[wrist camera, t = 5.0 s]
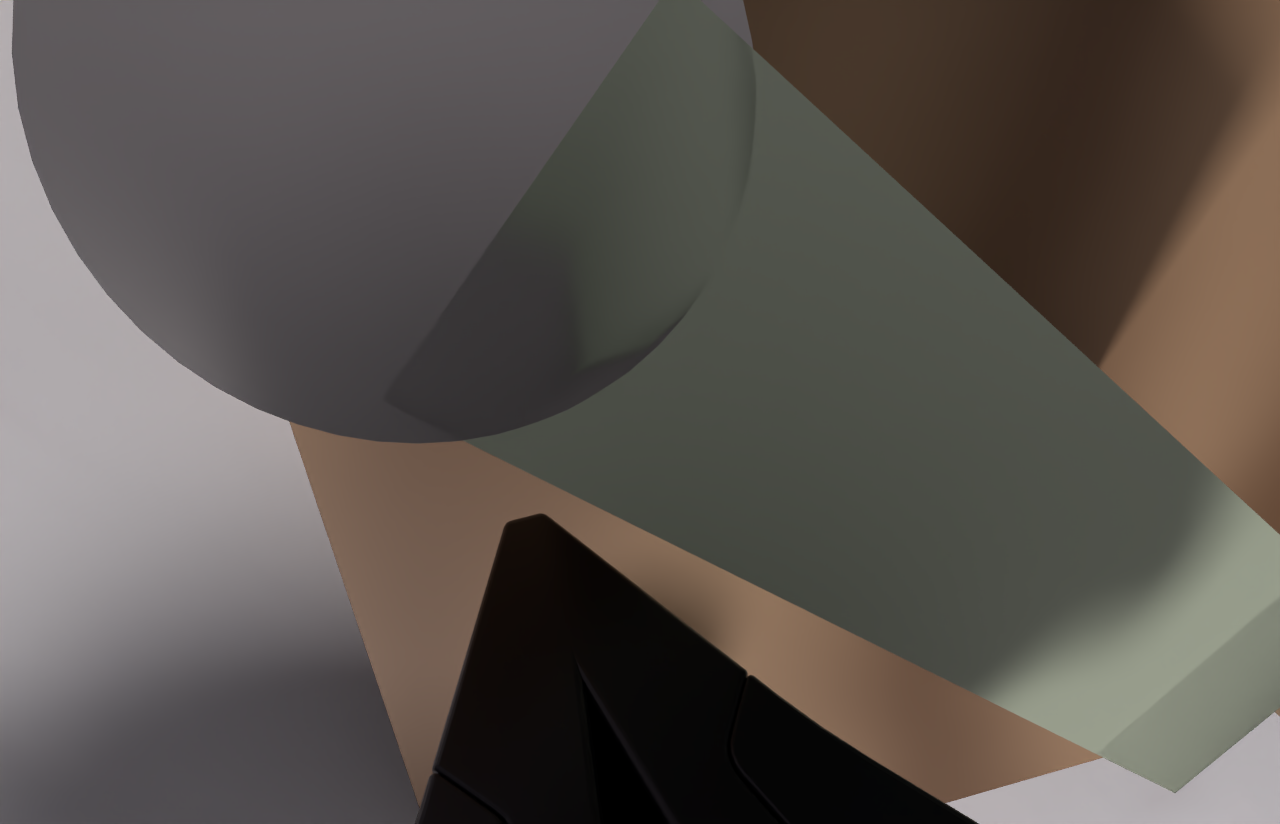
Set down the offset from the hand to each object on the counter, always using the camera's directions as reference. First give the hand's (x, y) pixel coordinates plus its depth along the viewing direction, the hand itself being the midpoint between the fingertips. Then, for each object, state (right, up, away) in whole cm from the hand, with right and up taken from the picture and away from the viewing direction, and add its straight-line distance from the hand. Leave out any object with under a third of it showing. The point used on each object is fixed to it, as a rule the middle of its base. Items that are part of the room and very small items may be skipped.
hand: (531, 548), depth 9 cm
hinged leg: (+2, +3, 0) cm, 4 cm away
